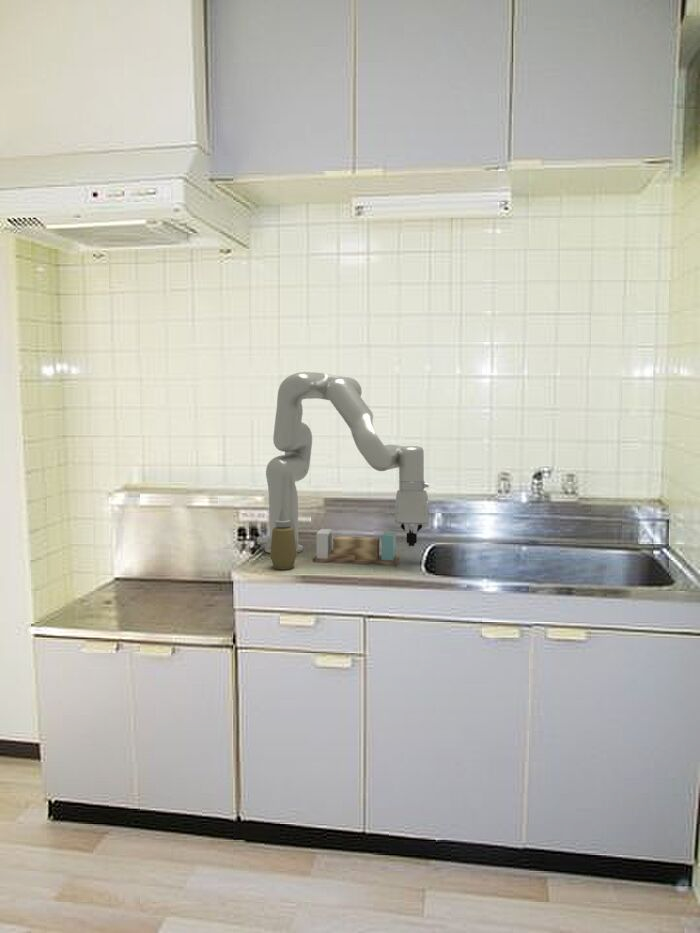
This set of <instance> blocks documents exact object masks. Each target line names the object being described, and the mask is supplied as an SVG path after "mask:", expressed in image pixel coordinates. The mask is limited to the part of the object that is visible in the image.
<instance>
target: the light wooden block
mask: <svg viewBox="0 0 700 933" xmlns="http://www.w3.org/2000/svg"><path fill="white" fill-rule="evenodd" d="M332 550H333V554H334V555H355V559H375V560H377V559H378V558H379V555H380V537H365V536H361V537H360V536H345V535H344V536H343V535H342V536H341V535H337V536H336V535H335V536H334V537H332Z"/></svg>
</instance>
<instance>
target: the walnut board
mask: <svg viewBox="0 0 700 933" xmlns="http://www.w3.org/2000/svg"><path fill="white" fill-rule="evenodd" d="M399 560H400V555H396V556H395V558H394V560H393V561H391V560H382V554H379V558H378V559H377V560H375V559H355V555H334V554H333V549H332V554H328V559H325V558H317V554H316V555H315V556H313V557H312V562H313V563H326V562H334V563H333V564H348V563H353V565H354V564H355V565H356V564H357V565H370V564H381V565H380V566H392V565H396V566H397V565H398V563H399Z"/></svg>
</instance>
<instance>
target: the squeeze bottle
mask: <svg viewBox="0 0 700 933" xmlns="http://www.w3.org/2000/svg"><path fill="white" fill-rule="evenodd" d="M275 526H276V527H275V528H273V530H272V541H271V552H270V553H269V557H270V560H271V563H272V566H273V568H274V569H277V570H290V569H293V568H294V566H295V562H296V560H297V556H298V555H297V554H298V553H297V551H296V542H295V533H294V529H293V528H292V527H290V526H291V520H287V515H286V511H285V508H282V509H281V512H280V517H279V520H276V521H275Z"/></svg>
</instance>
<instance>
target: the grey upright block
mask: <svg viewBox="0 0 700 933" xmlns="http://www.w3.org/2000/svg"><path fill="white" fill-rule="evenodd" d="M315 535H316V536H315V537H316V555H317V558H325V559H328V554H332V550H333V529H332V528H331V529H330V528H320V530H319V531H317V532H316V534H315Z"/></svg>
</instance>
